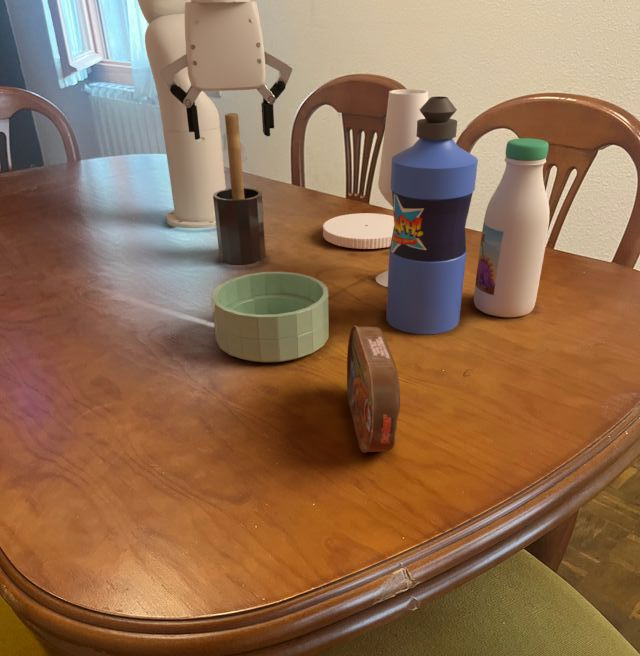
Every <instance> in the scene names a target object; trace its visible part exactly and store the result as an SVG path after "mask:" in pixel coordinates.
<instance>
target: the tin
mask: <svg viewBox="0 0 640 656" xmlns="http://www.w3.org/2000/svg"><path fill="white" fill-rule="evenodd" d="M346 359H347V360H346V392H347V398H348V399H347V401H348V405H349V410H350V414H351V418H352V422H353V426H354V431H355V435H356V439H357V444H358V447H359V449H360V451H361V452H362V453H363V454H366V453H369V452H371V453H372V452H373V453H375V452H389V451H391V450H393V449H394V447H395V445H396V441H397V439H396V434H397V428H398V419H399V415H400V410H401V386H400V385H401V384H400V378H399V373H398V369H397V365H396V363H395V361H394V358H393V355H392V352H391V350H390V346H389V345H388V343H387V340H386V337H385V335H384V333H383V331H382V329H381V328H380V327H378V326H357V325H352V327H351V329H350V331H349V337H348V344H347V356H346Z"/></svg>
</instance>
